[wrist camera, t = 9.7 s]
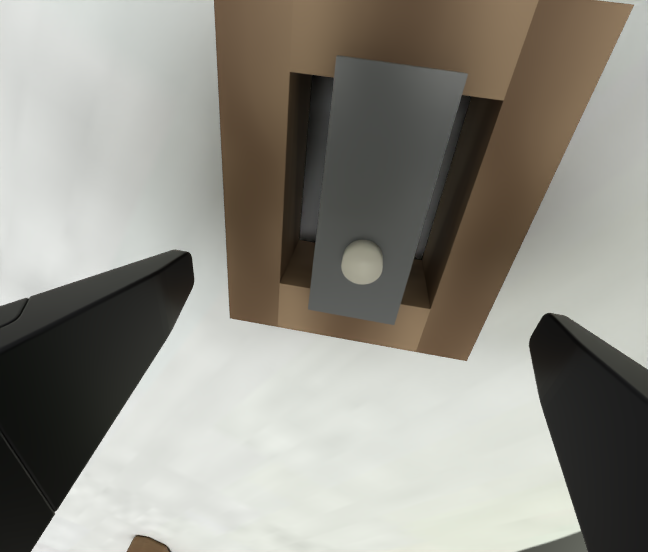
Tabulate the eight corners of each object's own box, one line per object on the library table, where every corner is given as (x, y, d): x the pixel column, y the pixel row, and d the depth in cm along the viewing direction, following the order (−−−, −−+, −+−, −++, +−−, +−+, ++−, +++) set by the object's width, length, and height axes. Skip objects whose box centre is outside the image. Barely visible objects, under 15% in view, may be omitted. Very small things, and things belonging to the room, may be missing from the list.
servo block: (445, 66, 15) (473, 75, 10) (392, 270, 20) (394, 337, 15) (349, 53, 15) (333, 55, 10) (322, 258, 20) (304, 320, 16)
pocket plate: (564, 17, 13) (634, 4, 10) (452, 305, 21) (466, 361, 17) (257, -20, 14) (212, -45, 10) (256, 271, 22) (229, 318, 18)
